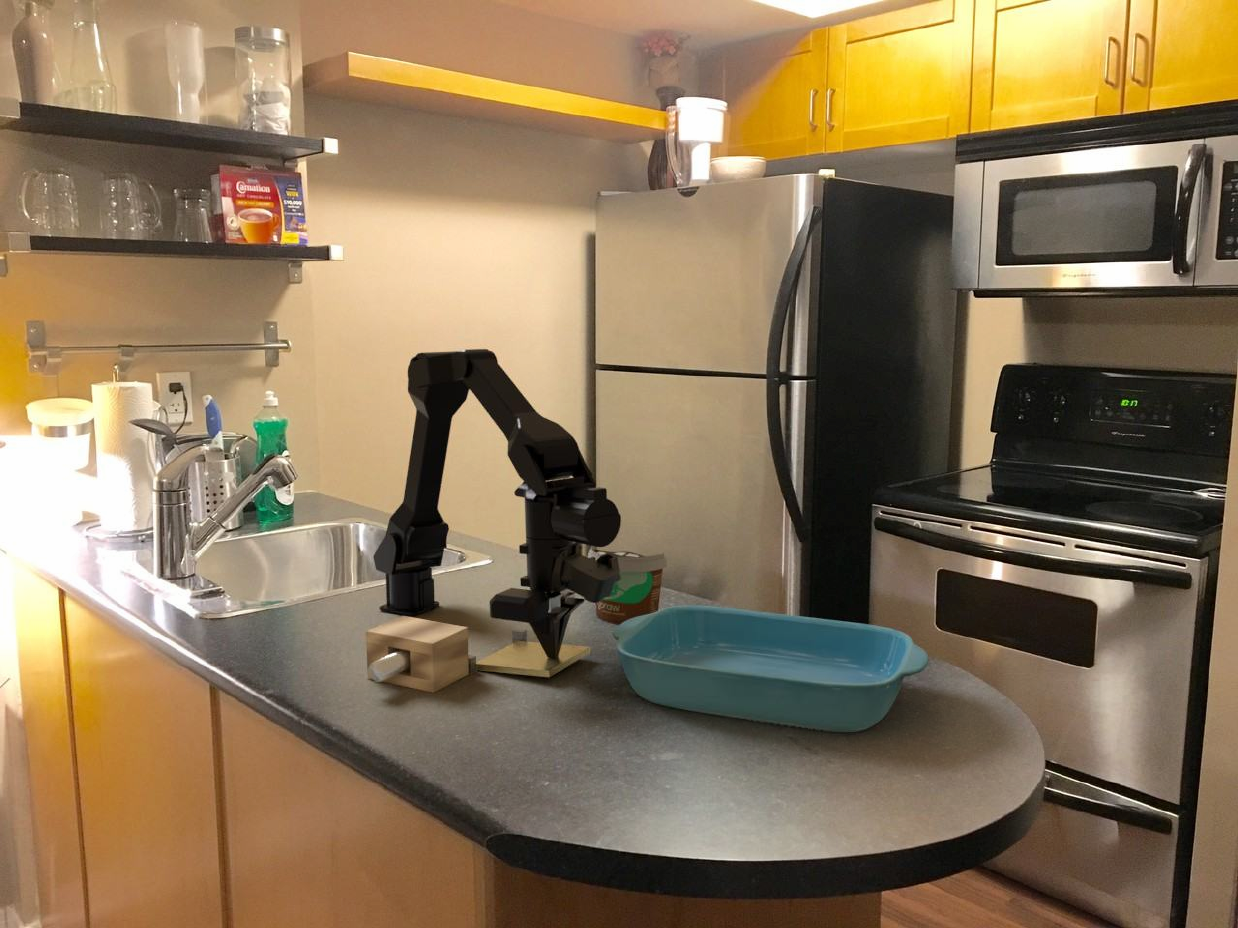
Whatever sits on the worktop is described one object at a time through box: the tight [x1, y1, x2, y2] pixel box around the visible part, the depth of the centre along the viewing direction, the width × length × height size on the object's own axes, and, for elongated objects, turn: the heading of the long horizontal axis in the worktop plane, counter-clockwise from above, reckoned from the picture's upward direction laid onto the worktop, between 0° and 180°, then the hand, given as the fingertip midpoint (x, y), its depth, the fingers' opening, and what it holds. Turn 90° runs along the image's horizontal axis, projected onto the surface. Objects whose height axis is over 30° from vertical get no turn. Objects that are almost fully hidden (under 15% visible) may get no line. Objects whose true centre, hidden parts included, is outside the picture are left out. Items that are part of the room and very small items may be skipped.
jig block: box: [365, 615, 470, 694], centre depth 129 cm, size 10×7×6 cm
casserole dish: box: [612, 605, 930, 733], centre depth 124 cm, size 37×22×7 cm, turn 67°
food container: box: [587, 546, 668, 625], centre depth 151 cm, size 12×6×10 cm, turn 62°
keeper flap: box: [476, 641, 591, 678], centre depth 133 cm, size 11×10×1 cm
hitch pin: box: [369, 649, 411, 683], centre depth 128 cm, size 4×13×4 cm, turn 152°
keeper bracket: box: [468, 628, 528, 675], centre depth 136 cm, size 2×13×2 cm, turn 152°
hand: (552, 657), depth 132 cm, fingers closed, pressing on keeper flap
